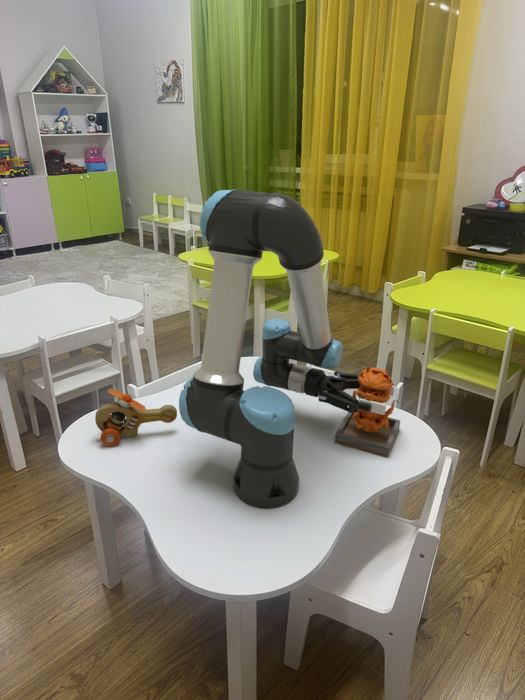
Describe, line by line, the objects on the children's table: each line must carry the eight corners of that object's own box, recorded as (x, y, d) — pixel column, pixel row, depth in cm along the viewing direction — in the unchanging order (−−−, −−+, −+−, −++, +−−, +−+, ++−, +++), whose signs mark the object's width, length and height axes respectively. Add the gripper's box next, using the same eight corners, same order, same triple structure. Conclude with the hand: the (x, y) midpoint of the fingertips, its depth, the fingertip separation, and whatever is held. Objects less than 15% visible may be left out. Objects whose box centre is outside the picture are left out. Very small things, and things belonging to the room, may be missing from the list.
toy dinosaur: (342, 431, 126) (348, 370, 118) (355, 411, 134) (361, 353, 127) (384, 443, 121) (393, 380, 114) (394, 422, 130) (404, 363, 122)
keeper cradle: (387, 457, 120) (389, 448, 119) (334, 442, 126) (335, 433, 125) (398, 429, 132) (400, 420, 131) (349, 416, 137) (350, 408, 136)
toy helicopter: (100, 430, 130) (93, 386, 124) (177, 422, 134) (174, 379, 128) (97, 448, 122) (89, 402, 116) (179, 439, 126) (175, 394, 121)
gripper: (320, 376, 141) (396, 393, 133) (291, 412, 123) (377, 435, 115) (322, 353, 138) (400, 369, 129) (292, 386, 120) (381, 408, 111)
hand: (389, 400), depth 122 cm, fingers closed on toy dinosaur, 9 cm apart
